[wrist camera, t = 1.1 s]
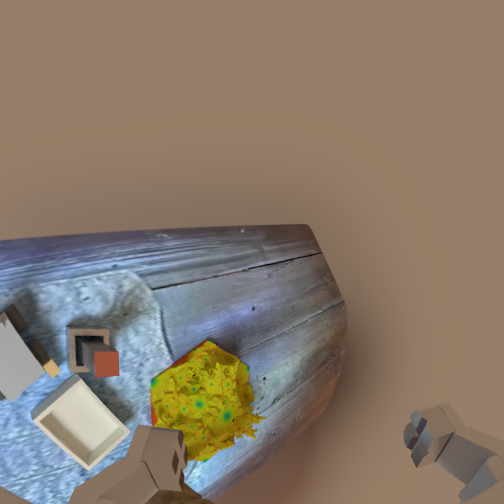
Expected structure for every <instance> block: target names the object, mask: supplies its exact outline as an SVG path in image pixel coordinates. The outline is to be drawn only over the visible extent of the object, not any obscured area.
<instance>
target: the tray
mask: <svg viewBox="0 0 504 504" xmlns="http://www.w3.org/2000/svg"><path fill="white" fill-rule="evenodd" d="M30 413H31V417H32V420H33V422H34V423H35V424H36V425H37V426H38V427H39V428H40V429H41V430H42V431H43V432H44V433H46V434H47V435H48V436H49V437H50V438H51V439H52V440H53V441H54V442H55V443H56V444H57V445H58V446H60V447H61V448H62V449H63V450H64V451H65V452H66V453H68V454H69V455H70V456H71V457H72V458H73V459H75V460H76V461H77V462H78V463H80V464H81V465H82V466H83V467H85V468H86V469H87V470H88V471H90V470H91V469H92V468H93V467H94V466H95V465H96V464H97V463H98V462H100V461H101V460H102V459H103V458H104V457H105V456H106V455H107V454H108V453H109V452H110V451H111V450H113V449H114V448H115V447H116V446H117V445H118V444H119V443H120V442H121V441H122V440H123V439H124V438H125V437H126V436H127V435H128V434H129V433H131V432H130V431H129V430H128V429H127V428H126V427H125V426H124V425H123V424H122V423H121V422H120V421H119V420H118V419H117V418H116V417H115V416H114V415H113V414H112V413H111V412H110V410H109V409H108V408H107V407H106V406H105V405H104V404H103V403H102V402H101V401H100V400H99V399H98V397H97V396H96V395H95V394H94V393H93V392H92V391H91V390H90V388H89V387H88V386H87V385H86V384H85V383H84V381H83V380H82V379H81V378H80V377H79V376H78V374H77V373H75V374H74V375H73V376H71V377H70V378H69V379H68V380H67V381H66V382H64V383H63V384H62V385H61V386H60V387H59V388H58V389H56V390H55V391H54V392H53V393H52V394H51V395H49V396H48V397H47V398H46V399H45V400H44V401H43V402H41V403H40V404H39V405H38V406H37V407H36V408H35V409H33V410H32V411H31V412H30Z"/></svg>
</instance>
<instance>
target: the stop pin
mask: <svg viewBox="0 0 504 504" xmlns="http://www.w3.org/2000/svg"><path fill="white" fill-rule="evenodd" d="M76 355H77V359H78V360H79V361H80V362H81V363H82V364H83V365H84V366H85V367H86V368H87V369H88V370H89V371H90V372H91V373H92V374H93V375H94V376H95V377H110V376H119V354H118V351H117V350H115V349H113V348H112V347H110V346H108V345H107V344H105V343H103V342H102V341H100V340H98V339H97V338H95V337H76Z"/></svg>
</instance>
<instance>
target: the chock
mask: <svg viewBox="0 0 504 504" xmlns="http://www.w3.org/2000/svg"><path fill="white" fill-rule="evenodd" d="M48 357H49V358H50V360H49V361H48V362H46V363H45V364H44V365H42V366H43V367H44V369H45V370H46V371H47V373H48V374H49V375H50V376H51V377H52V378H53V377H55V376H56V375H57V374H58V373H59V372H60V371H61V370H60V369H59V367H58V366H57V365H56V363H55V362H54V361H53V360H52V358H51V357H50V356H48Z"/></svg>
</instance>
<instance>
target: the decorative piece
mask: <svg viewBox="0 0 504 504" xmlns="http://www.w3.org/2000/svg"><path fill="white" fill-rule="evenodd" d="M196 373H197V374H196ZM194 374H196V375H195V376H194V377H193V375H194ZM192 377H193V378H192ZM254 399H255V398H254V395H253V391H252V389H251V386H250V384H249V367H248V366H247V365H245V364H243V363H242V362H240V359H238V358H237V357H236V356H234V355H232V354H230V353H228V352H225V351H224V350H222V349H221V348H219V347H218V346H217V345H215V344H213V343H212V342H210V341H209V340H205V341H203V342H202V343H201V344H199V345H198V346H197V347H195V348H194V349H193V350H191V351H190V352H189V353H187V354H186V355H185V356H183V357H182V358H181V359H179V360H178V361H177V362H175V363H174V364H172V365H171V366H170V367H169V368H167V369H166V370H164V371H163V372H162V373H160V374H159V375H157V376H156V377H155V378H153V379H152V380H151V416H152V427H160V428H168V429H177V430H182V432H183V435H184V438H183V442H184V443H186V446H187V452H188V457H187V461H190V460H194V459H195V460H199V461H203V462H206V461H207V460H209V459H210V458H211V457H212V456H213V455H214V454H216V453H217V452H218V451H219V450H222V449H226V448H229V447H232V446H234V444H235V442H234V436H236V437H237V439H239V437H240V438H243V436H242V435H241V434H246V435H247V437H249V436H251V437H252V438H253V439H255V438H256V436H255V435H254V433H255V432H257V429H255V430H253V429H251V427H253V426H252V424H253V423H257V424H259V422H260V420H262V419H265V418H266V417H260V416H258V414H257V413H256V415H253V414H252V413H251V412H252V410H254V409H253V407H249V404H250V403H251V402H252V401H254ZM255 440H256V439H255ZM256 441H257V440H256Z"/></svg>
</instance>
